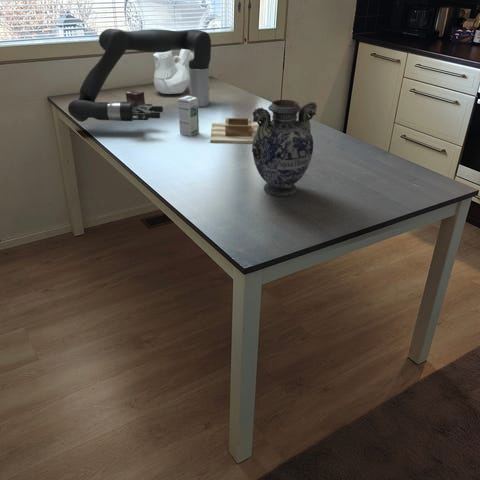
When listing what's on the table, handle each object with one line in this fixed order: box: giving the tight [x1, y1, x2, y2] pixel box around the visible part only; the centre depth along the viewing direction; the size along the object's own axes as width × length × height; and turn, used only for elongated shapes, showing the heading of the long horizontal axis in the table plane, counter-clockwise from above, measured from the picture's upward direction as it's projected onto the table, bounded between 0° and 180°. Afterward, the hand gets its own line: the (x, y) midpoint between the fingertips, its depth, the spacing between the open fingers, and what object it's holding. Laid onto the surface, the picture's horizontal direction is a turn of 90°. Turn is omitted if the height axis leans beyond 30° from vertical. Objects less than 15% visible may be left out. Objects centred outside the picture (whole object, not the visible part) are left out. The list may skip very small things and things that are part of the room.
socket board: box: [209, 117, 259, 144], centre depth 215 cm, size 22×22×5 cm
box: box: [125, 89, 146, 107], centre depth 244 cm, size 6×6×7 cm
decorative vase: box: [251, 99, 318, 197], centre depth 163 cm, size 21×19×28 cm
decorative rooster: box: [152, 49, 194, 95], centre depth 264 cm, size 25×16×25 cm, turn 116°
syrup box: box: [177, 95, 200, 137], centre depth 212 cm, size 6×6×14 cm
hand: (161, 112), depth 211 cm, fingers open, 8 cm apart
